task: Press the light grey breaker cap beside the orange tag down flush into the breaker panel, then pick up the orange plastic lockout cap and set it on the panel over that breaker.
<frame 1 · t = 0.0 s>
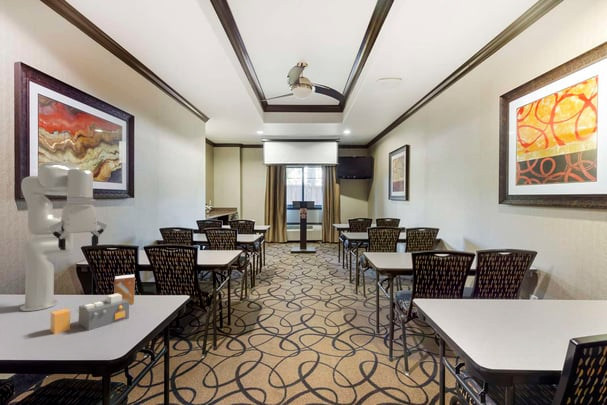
hand: (79, 248, 104), 31 cm above the table, tool pointing down, fingers open, 9 cm apart
tagged breaker: (114, 302, 116), point 6 cm above the table, slide at 0.0 cm
breaker panel: (104, 320, 113), on the table
small box: (124, 304, 133), on the table
lockout cap: (60, 330, 105), on the table
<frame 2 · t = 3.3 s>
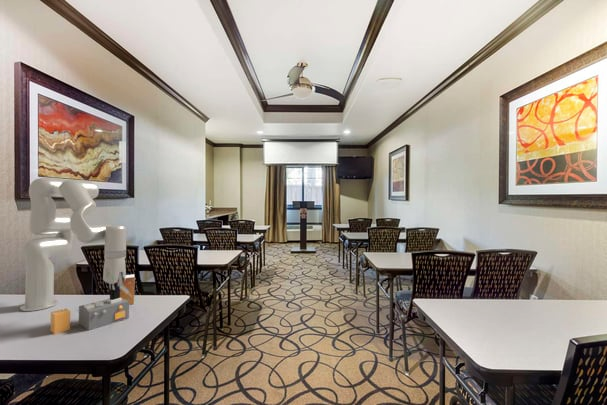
hand: (114, 298, 116), 8 cm above the table, tool pointing down, fingers closed
tagged breaker: (114, 305, 116), point 5 cm above the table, slide at 1.4 cm, touching gripper
everything else where it was.
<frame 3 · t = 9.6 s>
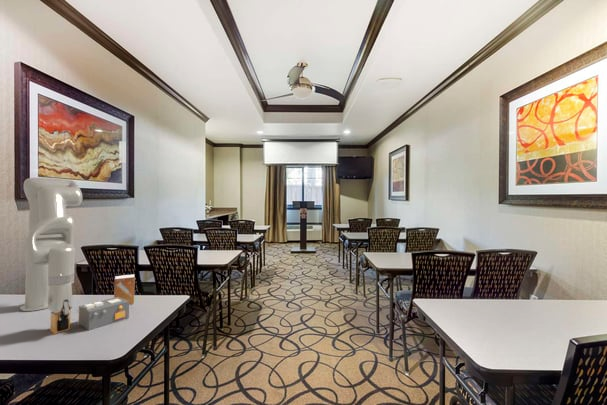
hand: (60, 327, 105), 1 cm above the table, tool pointing down, fingers closed on lockout cap, 4 cm apart
tagged breaker: (114, 307, 116), point 4 cm above the table, slide at 2.3 cm
lockout cap: (60, 330, 105), on the table, touching gripper
everything else where it was.
when the fingers open (10 cm above the table, at t = 15.6 s): lockout cap drops 2 cm, resting on breaker panel.
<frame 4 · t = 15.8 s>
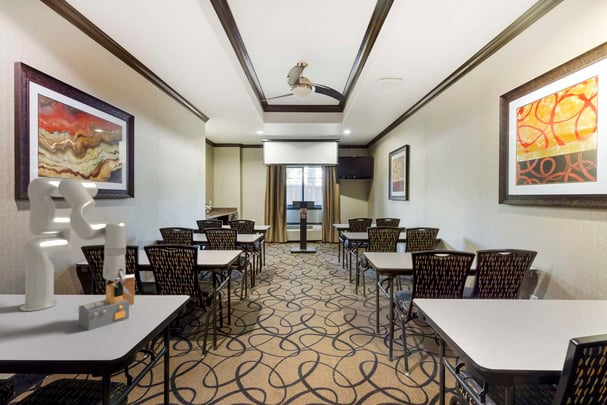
hand: (114, 294, 116), 10 cm above the table, tool pointing down, fingers open, 6 cm apart
tagged breaker: (114, 308, 116), point 4 cm above the table, slide at 2.6 cm
lockout cap: (114, 301, 116), point 7 cm above the table, touching breaker panel
everything else where it was.
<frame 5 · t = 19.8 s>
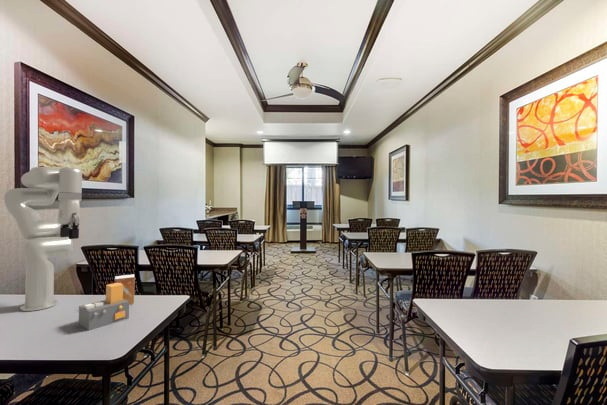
hand: (69, 237, 117), 33 cm above the table, tool pointing down, fingers open, 9 cm apart
nothing on the table moved.
at the end: tagged breaker slide at 2.6 cm; lockout cap 0.1 cm from the target spot, point 6.9 cm above the table; lockout cap tilted 2° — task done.
